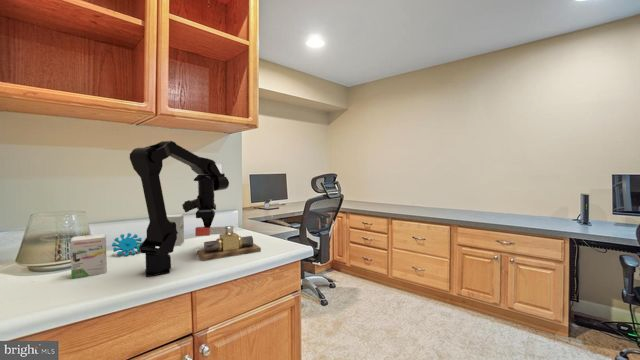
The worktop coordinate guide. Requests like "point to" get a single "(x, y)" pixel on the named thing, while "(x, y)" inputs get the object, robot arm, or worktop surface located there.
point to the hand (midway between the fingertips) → (207, 231)
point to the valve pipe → (228, 243)
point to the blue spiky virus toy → (127, 244)
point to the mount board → (227, 252)
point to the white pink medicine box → (88, 255)
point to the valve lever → (213, 230)
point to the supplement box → (178, 227)
